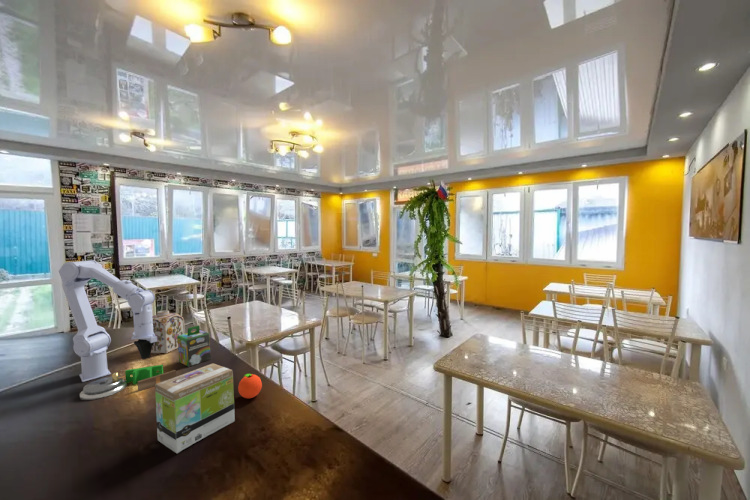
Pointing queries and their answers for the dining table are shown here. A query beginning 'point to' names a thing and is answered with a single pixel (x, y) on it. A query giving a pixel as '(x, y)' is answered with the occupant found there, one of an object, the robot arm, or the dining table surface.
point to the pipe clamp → (143, 373)
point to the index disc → (103, 384)
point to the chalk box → (194, 347)
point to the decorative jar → (167, 331)
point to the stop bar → (155, 380)
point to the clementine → (249, 386)
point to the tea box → (194, 406)
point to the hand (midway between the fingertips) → (145, 358)
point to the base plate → (104, 394)
